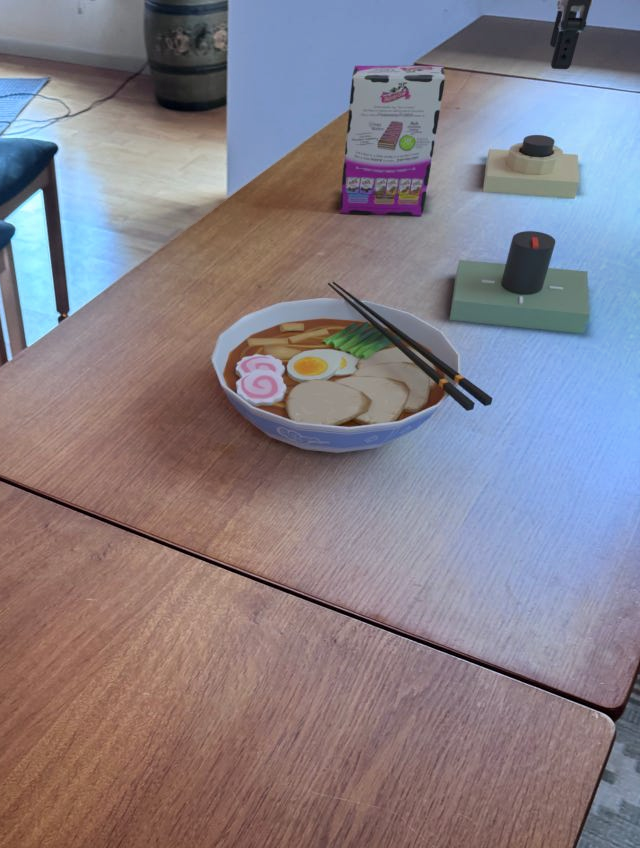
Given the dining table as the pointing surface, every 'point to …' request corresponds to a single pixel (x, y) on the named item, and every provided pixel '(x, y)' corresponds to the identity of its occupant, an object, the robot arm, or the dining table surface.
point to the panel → (520, 299)
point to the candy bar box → (390, 139)
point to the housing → (531, 173)
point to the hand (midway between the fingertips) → (559, 57)
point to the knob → (528, 262)
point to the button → (537, 146)
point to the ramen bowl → (338, 372)
